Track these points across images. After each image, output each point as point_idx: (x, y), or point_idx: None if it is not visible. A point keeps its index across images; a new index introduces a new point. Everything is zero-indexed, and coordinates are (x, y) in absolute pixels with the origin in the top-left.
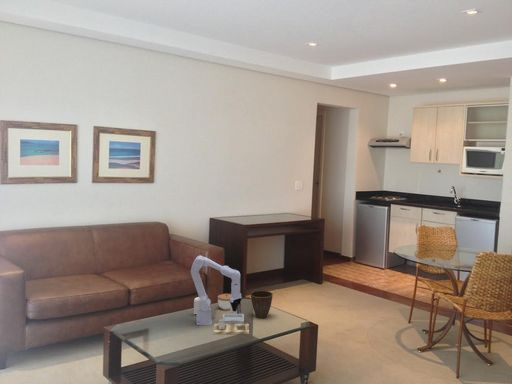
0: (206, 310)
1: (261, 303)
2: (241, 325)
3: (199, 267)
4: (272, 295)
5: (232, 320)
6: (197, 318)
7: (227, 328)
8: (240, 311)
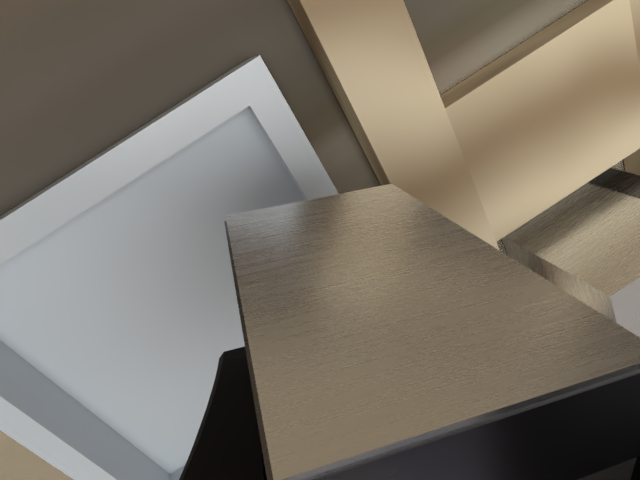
0: None
1: None
2: (411, 21)
3: None
4: None
5: (213, 320)
6: None
7: (597, 158)
8: (276, 219)
